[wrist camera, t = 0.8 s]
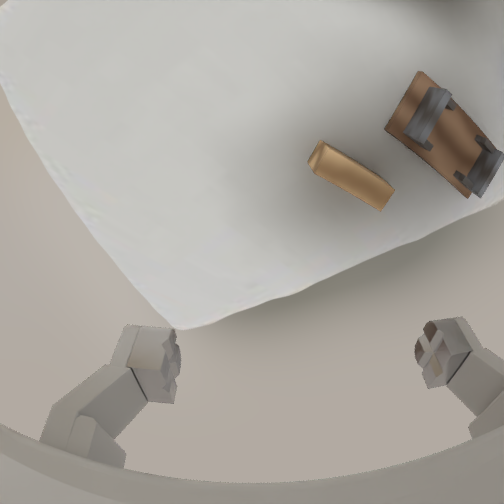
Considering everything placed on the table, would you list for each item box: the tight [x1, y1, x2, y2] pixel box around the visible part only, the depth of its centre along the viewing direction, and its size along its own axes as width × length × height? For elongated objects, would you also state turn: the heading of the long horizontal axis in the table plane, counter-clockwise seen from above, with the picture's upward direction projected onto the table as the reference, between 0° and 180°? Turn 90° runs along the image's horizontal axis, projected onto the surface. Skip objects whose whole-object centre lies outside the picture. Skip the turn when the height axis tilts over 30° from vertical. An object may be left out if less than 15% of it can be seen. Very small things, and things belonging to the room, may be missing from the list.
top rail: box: [308, 140, 395, 212], centre depth 42 cm, size 4×12×6 cm, turn 64°
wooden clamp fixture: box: [384, 71, 504, 199], centre depth 37 cm, size 12×22×6 cm, turn 64°
